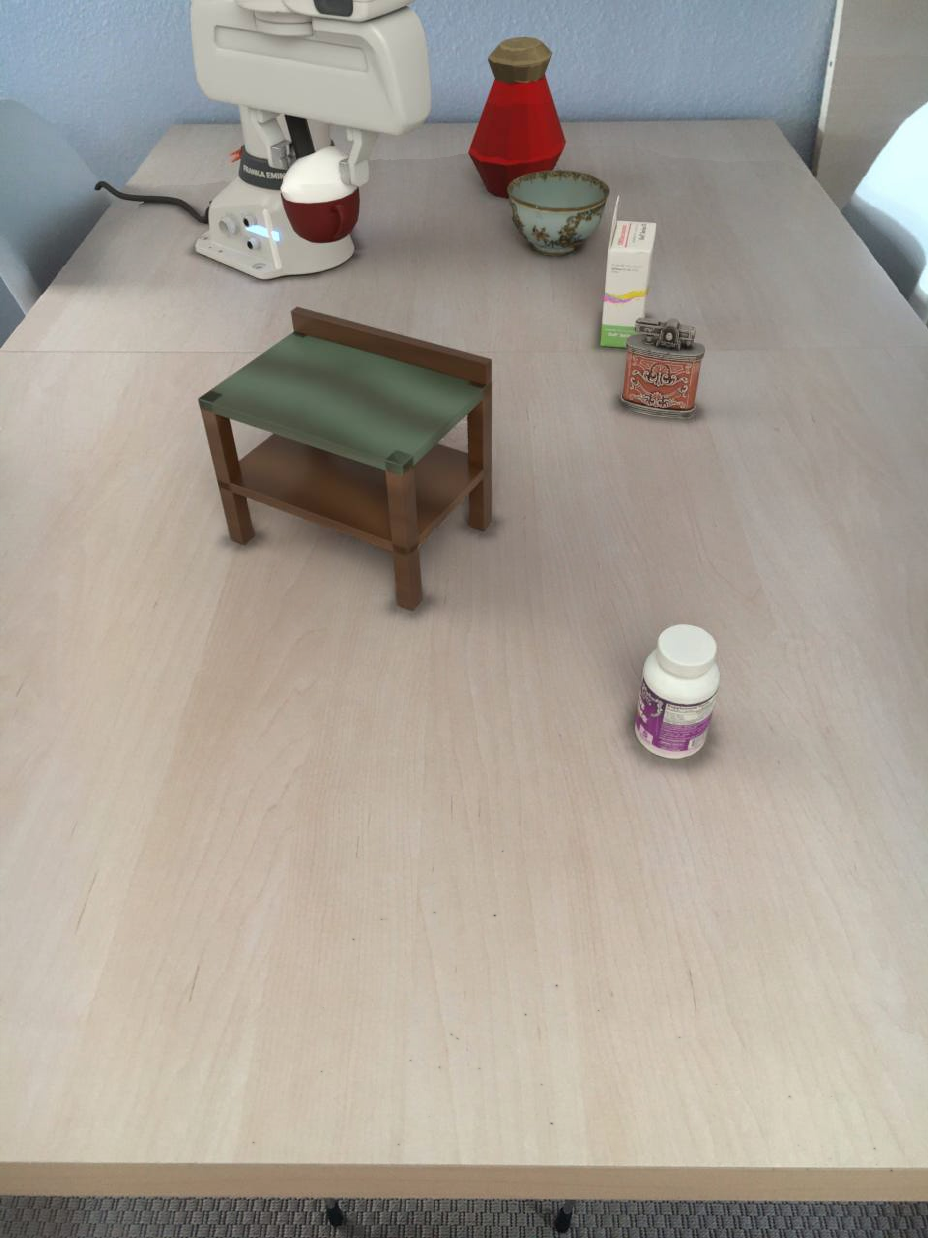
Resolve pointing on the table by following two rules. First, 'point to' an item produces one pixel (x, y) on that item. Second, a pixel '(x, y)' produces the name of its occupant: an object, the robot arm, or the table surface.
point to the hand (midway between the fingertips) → (319, 174)
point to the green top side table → (356, 436)
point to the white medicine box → (626, 279)
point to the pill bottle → (678, 692)
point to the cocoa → (317, 189)
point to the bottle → (517, 117)
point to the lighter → (662, 369)
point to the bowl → (557, 209)
